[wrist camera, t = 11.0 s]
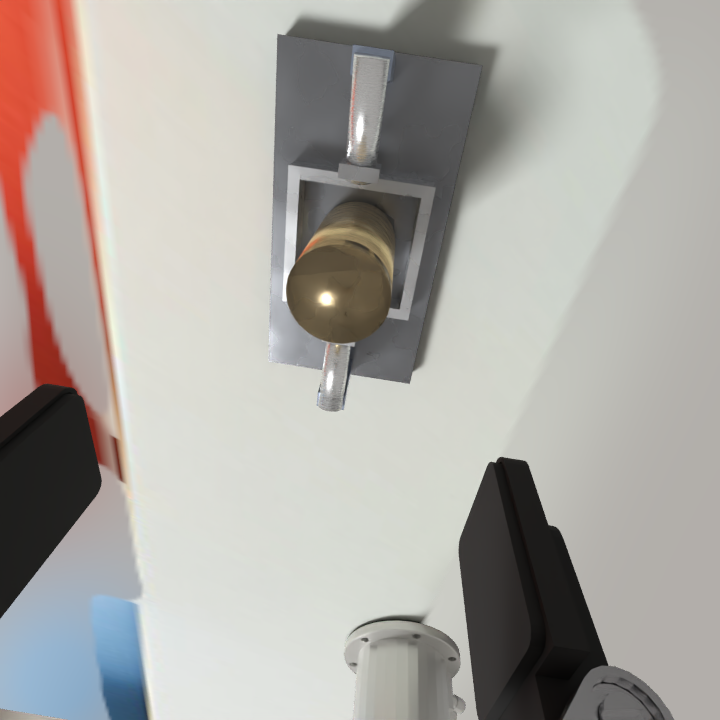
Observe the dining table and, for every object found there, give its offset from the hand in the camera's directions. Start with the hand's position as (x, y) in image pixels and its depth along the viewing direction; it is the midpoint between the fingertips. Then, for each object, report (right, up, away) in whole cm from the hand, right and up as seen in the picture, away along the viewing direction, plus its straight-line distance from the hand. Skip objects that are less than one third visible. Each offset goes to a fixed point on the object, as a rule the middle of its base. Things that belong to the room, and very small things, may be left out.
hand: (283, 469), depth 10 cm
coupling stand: (+2, +10, +16) cm, 19 cm away
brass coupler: (+2, +9, +15) cm, 18 cm away
